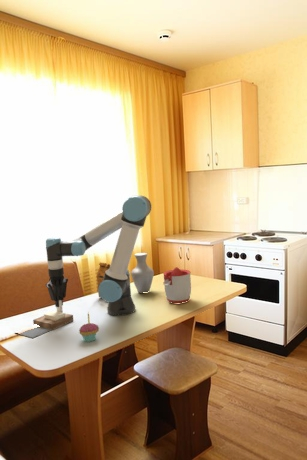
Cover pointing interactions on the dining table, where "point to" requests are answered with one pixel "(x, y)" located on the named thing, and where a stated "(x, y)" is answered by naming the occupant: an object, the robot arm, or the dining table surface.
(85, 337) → the cupcake
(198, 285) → the dining table surface
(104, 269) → the coffee package
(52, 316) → the tile
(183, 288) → the citrus juicer
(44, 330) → the mat
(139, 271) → the vase
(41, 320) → the board
